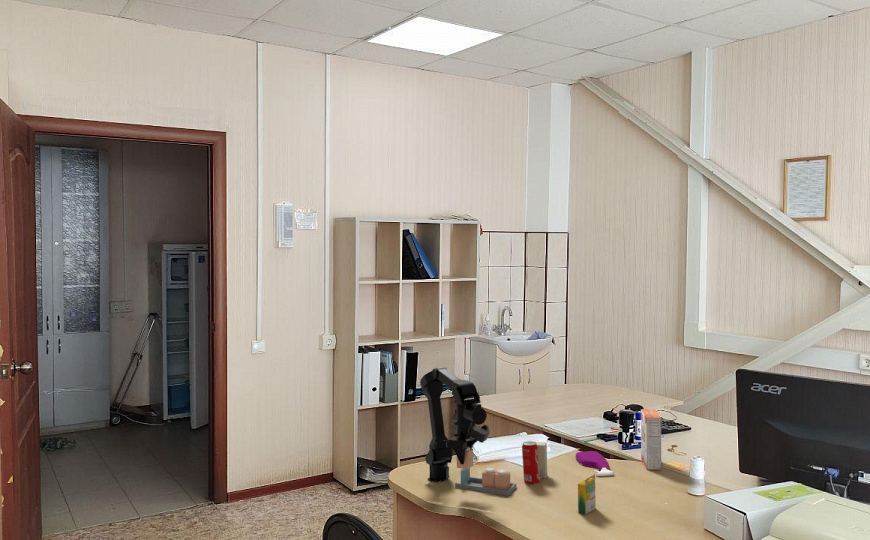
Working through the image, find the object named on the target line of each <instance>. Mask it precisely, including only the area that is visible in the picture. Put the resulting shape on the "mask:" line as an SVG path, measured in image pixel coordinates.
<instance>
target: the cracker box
mask: <svg viewBox="0 0 870 540" xmlns="http://www.w3.org/2000/svg"><path fill="white" fill-rule="evenodd" d="M640 439H641V440H640V445H641V447H640V449H641V451H640V452H641V453H640V454H641V457H640V459H641V461H642V462H643V464H644V466H645V469H646V470H647V471H662V417H661V416H660V415H659V414H658V412H657V411H656V409H651V408H649V409H647V408H646V409H645V408H641V409H640Z"/></svg>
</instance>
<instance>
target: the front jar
mask: <svg viewBox="0 0 870 540" xmlns="http://www.w3.org/2000/svg"><path fill="white" fill-rule="evenodd" d="M510 483H511V471H510V472H509V471H508V470H506V469H498V470H497V473H496V474H494V487H495V489H502V490H508V489H509V488H510Z"/></svg>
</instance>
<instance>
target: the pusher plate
mask: <svg viewBox="0 0 870 540" xmlns="http://www.w3.org/2000/svg"><path fill="white" fill-rule="evenodd" d="M470 477H471V468H469V469H462V468H460V483H462V484H465V483H466V482H468V481H469V480H470Z"/></svg>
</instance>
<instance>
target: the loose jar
mask: <svg viewBox="0 0 870 540" xmlns="http://www.w3.org/2000/svg"><path fill="white" fill-rule="evenodd" d="M472 467H474V448H472V449H470V447H468V448H467V449H466V452H465V460H464V464H460V462H459V460H458V457H457V456H456V468H457V469H469V468H470V469H471V468H472Z"/></svg>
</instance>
